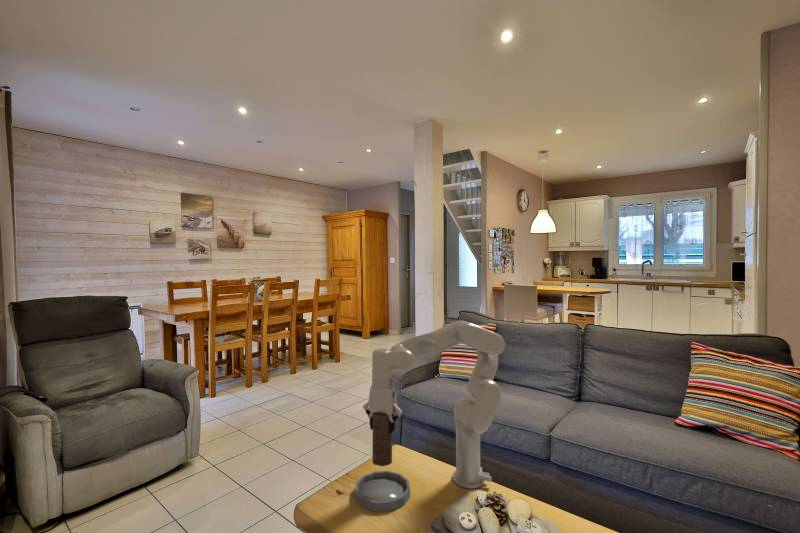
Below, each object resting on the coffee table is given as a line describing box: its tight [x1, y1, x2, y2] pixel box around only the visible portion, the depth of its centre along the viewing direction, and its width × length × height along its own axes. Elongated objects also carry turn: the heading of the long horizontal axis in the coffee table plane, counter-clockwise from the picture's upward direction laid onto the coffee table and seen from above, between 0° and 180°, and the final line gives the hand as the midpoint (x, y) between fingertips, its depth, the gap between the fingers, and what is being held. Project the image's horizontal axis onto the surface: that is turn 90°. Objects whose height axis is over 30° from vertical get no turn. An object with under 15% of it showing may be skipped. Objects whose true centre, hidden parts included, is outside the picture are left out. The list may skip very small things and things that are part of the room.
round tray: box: [355, 470, 411, 513], centre depth 135 cm, size 20×20×3 cm
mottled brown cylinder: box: [372, 413, 393, 467], centre depth 135 cm, size 8×7×20 cm
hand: (382, 429), depth 135 cm, fingers closed on mottled brown cylinder, 7 cm apart
